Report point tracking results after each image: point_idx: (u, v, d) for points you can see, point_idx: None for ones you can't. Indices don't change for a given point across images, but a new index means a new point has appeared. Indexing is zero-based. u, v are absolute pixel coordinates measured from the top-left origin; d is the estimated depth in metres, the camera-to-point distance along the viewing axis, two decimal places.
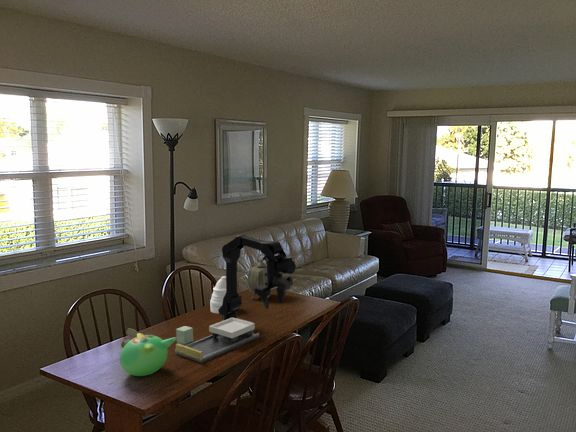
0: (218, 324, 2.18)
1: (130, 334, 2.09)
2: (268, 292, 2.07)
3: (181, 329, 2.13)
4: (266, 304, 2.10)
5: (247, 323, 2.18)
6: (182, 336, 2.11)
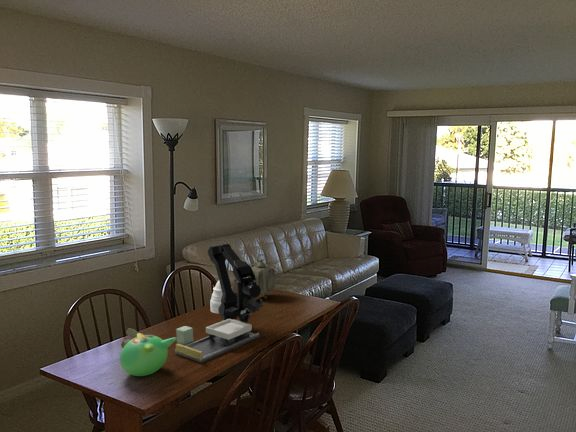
0: (215, 325, 2.16)
1: (130, 334, 2.09)
2: (238, 314, 2.13)
3: (181, 329, 2.13)
4: None
5: (244, 324, 2.17)
6: (182, 336, 2.11)
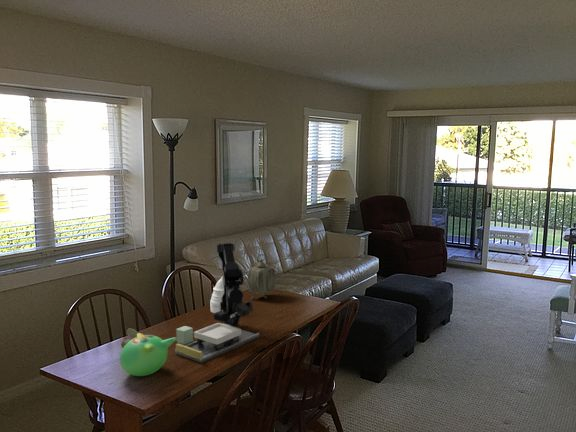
0: (203, 330, 2.11)
1: (130, 334, 2.09)
2: (227, 318, 2.08)
3: (181, 329, 2.13)
4: None
5: (233, 329, 2.12)
6: (182, 336, 2.11)
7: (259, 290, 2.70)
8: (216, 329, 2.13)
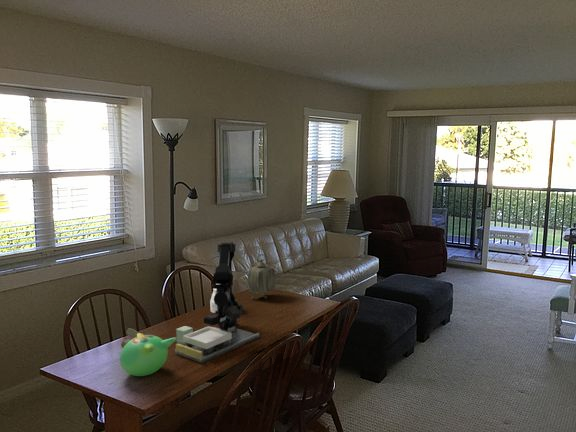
0: (193, 333, 2.07)
1: (130, 334, 2.08)
2: (217, 322, 2.04)
3: (181, 329, 2.13)
4: None
5: (224, 332, 2.07)
6: (182, 336, 2.11)
7: (259, 290, 2.70)
8: (206, 333, 2.09)
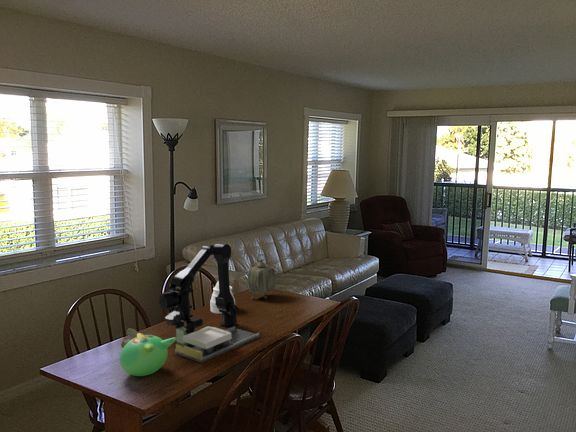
0: (193, 333, 2.07)
1: (130, 334, 2.09)
2: None
3: (181, 329, 2.13)
4: None
5: (224, 332, 2.07)
6: (182, 336, 2.11)
7: (259, 290, 2.70)
8: (206, 333, 2.09)
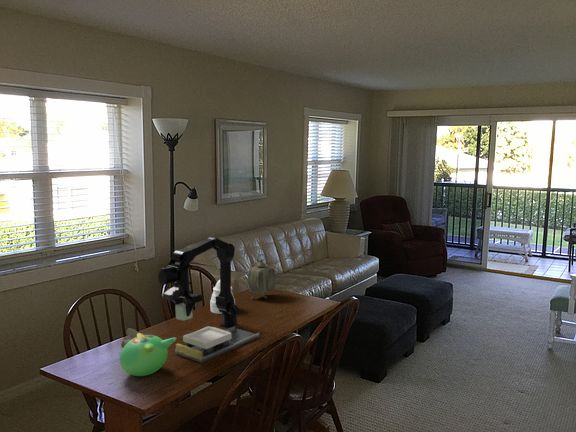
0: (193, 333, 2.07)
1: (130, 334, 2.09)
2: None
3: (180, 305, 2.11)
4: None
5: (224, 332, 2.07)
6: (181, 312, 2.10)
7: (259, 290, 2.70)
8: (206, 333, 2.09)
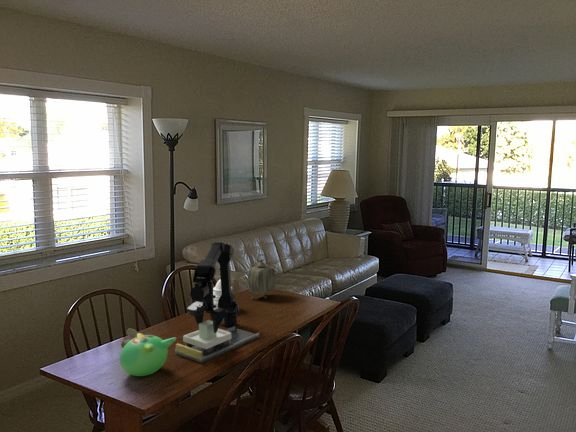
0: (193, 333, 2.07)
1: (130, 334, 2.09)
2: None
3: (204, 324, 2.03)
4: None
5: (224, 332, 2.07)
6: (206, 331, 2.01)
7: (259, 290, 2.70)
8: None
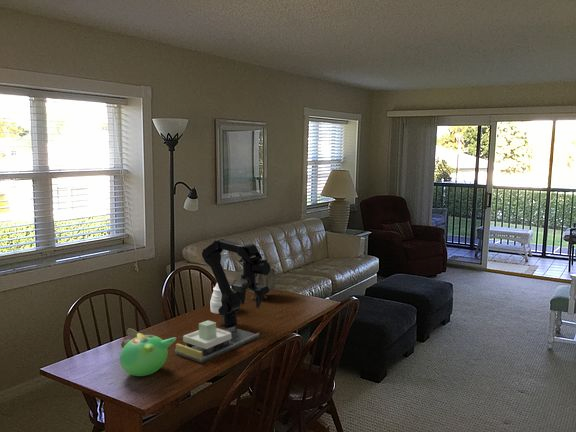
0: (193, 333, 2.07)
1: (130, 334, 2.08)
2: (234, 287, 2.25)
3: (204, 324, 2.03)
4: None
5: (224, 332, 2.07)
6: (206, 331, 2.01)
7: None
8: None
